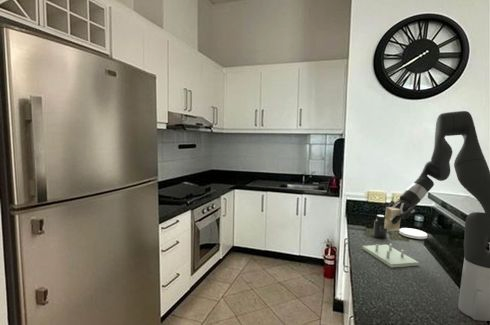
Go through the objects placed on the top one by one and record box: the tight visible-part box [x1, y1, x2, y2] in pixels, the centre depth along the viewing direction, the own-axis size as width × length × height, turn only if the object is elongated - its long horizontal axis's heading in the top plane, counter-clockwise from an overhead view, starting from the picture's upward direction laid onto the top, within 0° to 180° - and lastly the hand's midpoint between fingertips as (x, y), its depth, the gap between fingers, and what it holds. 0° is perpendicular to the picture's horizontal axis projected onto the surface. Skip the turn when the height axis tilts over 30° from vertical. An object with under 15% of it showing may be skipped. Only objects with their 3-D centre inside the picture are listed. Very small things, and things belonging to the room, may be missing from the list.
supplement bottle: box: [372, 214, 388, 239], centre depth 161 cm, size 7×7×12 cm
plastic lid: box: [398, 227, 428, 240], centre depth 166 cm, size 14×14×2 cm
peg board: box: [362, 243, 420, 268], centre depth 135 cm, size 20×14×4 cm
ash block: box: [384, 206, 401, 232], centre depth 133 cm, size 4×4×10 cm
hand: (388, 220), depth 133 cm, fingers closed on ash block, 4 cm apart
